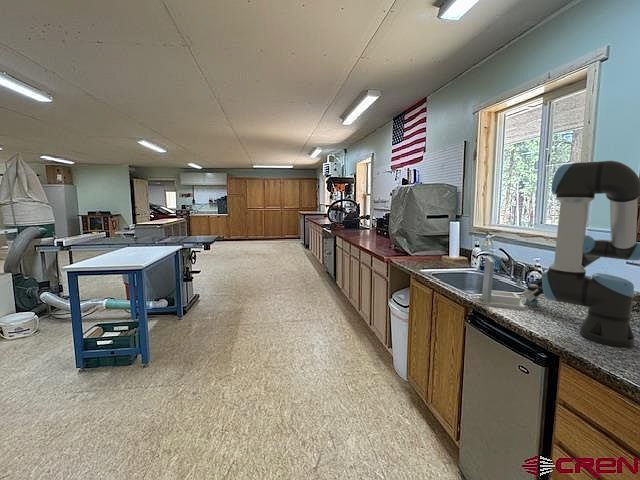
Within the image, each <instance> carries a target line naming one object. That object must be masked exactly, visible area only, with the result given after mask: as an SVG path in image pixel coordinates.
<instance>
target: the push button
mask: <svg viewBox="0 0 640 480" xmlns="http://www.w3.org/2000/svg"><path fill="white" fill-rule="evenodd" d="M526 288H527V289H528V290H529V293H528V295H529V294H530V291H531V293H532V292H533V291H535V290H536V289H537V288H540V287H538V285H535V284H533V283H529V284H528V285H527V286H526ZM527 289H526V290H527ZM525 305H529V306H535V307H538V306H540V302H539V301H538V297H536V298H535V299H533V300H532V301H529V300H528V299H527V298H526V300H525Z"/></svg>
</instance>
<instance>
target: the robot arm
mask: <svg viewBox="0 0 640 480" xmlns="http://www.w3.org/2000/svg"><path fill="white" fill-rule="evenodd" d="M551 193H552V194H554V195H556V197H555V198H556V200H557V201H558V202H559V214H558V222H557V231H556V244H555V251H554V260H553V261H554V262H553V263H552V264H551V265H549V266H548V269H546V270H544V271H543V273H542V277H540V278H538V279H537V280H536V281H534V282H533V283H532V284H535V285H538V287H540V288H537V289H536V290H535V291H533V292H532V293H531V291H530V294H529V295H528V293H529V290H528V289H526V290H524V291H523V292H522V293H521V295H523V296H524V298H526V299H528V300H529V301H532V300H533V299H535V298H536V297H537V298H538V297H539V296H541V295H542V294H543V295H544V296H545V298H546V299H548V300H551V301H555V302H559V303H566V304H571V305H577V306H581V307H587V308H588V309H587V316H586V317H585V318H584V320H583V322H582V323H581V326H580V327H579V334H580V336H582V337H583V338H585V339H587V340H590V341H592V342H595V343H598V344H603V345H607V346H612V347H618V348H619V347H620V348H632V347H633V346H635V345H634V344H635V335H634V332H633V329H632V326H631V315H632V307H633V301H634V300H633V299H634V297H635V294H634V293H635V285H634V283H633V282H631V281H630V280H628V279H626V278H623V277H619V276H616V275H611V274H607V273H599V272H593V274H592V275H586V274H587V270H586V269H585V268H586V267H588V266H590V265H591V264H592V263H594V262H595V261H597V260H599V259H601V258H605V259H607V258H609V259H616V260H624V261H640V242H638V241H637V227H638V225H637V224H638V220H637V219H638V202H639V201H638V200H639V198H640V177H639V176H638V174H637V173H636V172H635V171H634V170H633V168H631V167H630V166H629V165H626V164H624V163H622V162H620V161H615V160H603V161H582V162H580V161H579V162H569V163H563V164H561V165H559V166H558V167H557V168H556V170H555V172H554V175H553V178H552V181H551ZM597 194H598V195H600V194H605V195H606V196H605V197H606V199H607V200H609V217H610V218H609V219H610V239H609V240H608V239H601V238H600V239H596V238H593V237H592V236H591V235H587V234H586V228H587V220H588V211H589V203H591V202H593V201H594V200H595V195H597Z"/></svg>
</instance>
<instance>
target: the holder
mask: <svg viewBox="0 0 640 480" xmlns="http://www.w3.org/2000/svg"><path fill="white" fill-rule="evenodd" d="M494 269H495V261H494V260H493V259H492V258H491V257H490V256H485V258H484V271H483V280H482V281H483V282H482V291H481V293H482V295H481V297H482V298H483V300H484V303H485V305H486V306H488V307H495V306H496V307H497V308H503V307H504V308H505V309H513V310H522V311H523V310H524V311H525V310H526V305H524V304H523V303H522V301H521V298H520V296H519V295H518V294H517V293H516V292H512V291H511V292H510V291H503V290H493V279H494Z"/></svg>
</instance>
